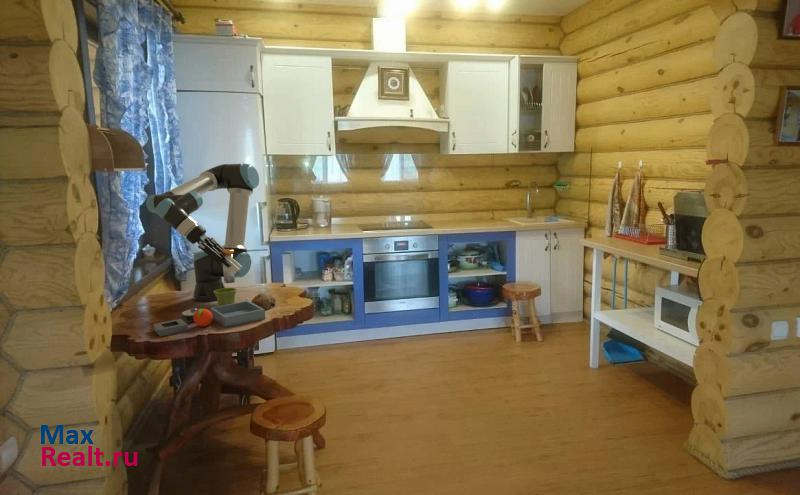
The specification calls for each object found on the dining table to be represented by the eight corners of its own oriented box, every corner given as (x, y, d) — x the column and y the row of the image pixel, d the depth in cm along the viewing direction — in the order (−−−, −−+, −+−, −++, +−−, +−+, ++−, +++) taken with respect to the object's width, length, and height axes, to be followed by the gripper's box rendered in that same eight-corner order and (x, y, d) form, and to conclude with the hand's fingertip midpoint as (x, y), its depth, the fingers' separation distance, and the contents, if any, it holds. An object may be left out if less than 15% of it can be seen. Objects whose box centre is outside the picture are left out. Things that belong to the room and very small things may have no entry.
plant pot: (213, 308, 213) (211, 289, 212) (235, 305, 218) (234, 286, 216) (217, 313, 205) (215, 294, 204) (240, 310, 210) (238, 290, 208)
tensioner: (149, 325, 192) (148, 314, 192) (202, 314, 205) (201, 304, 204) (160, 336, 178) (158, 325, 177) (216, 324, 190) (215, 313, 190)
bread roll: (265, 318, 209) (271, 302, 207) (244, 308, 210) (250, 292, 208) (275, 312, 218) (281, 296, 216) (255, 302, 219) (261, 286, 218)
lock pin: (221, 282, 195) (218, 250, 193) (233, 280, 198) (231, 248, 196) (225, 284, 191) (222, 251, 189) (238, 282, 194) (235, 250, 192)
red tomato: (209, 329, 185) (207, 311, 184) (190, 330, 184) (188, 312, 183) (215, 322, 193) (214, 305, 192) (197, 323, 192) (196, 306, 191)
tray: (210, 317, 201) (210, 307, 200) (248, 309, 210) (247, 300, 210) (225, 327, 187) (224, 317, 186) (265, 318, 196) (264, 309, 196)
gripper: (193, 234, 199) (237, 272, 203) (177, 240, 182) (226, 282, 186) (205, 221, 199) (249, 259, 202) (190, 226, 182) (239, 267, 186)
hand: (238, 270), depth 194 cm, fingers closed on lock pin, 4 cm apart
